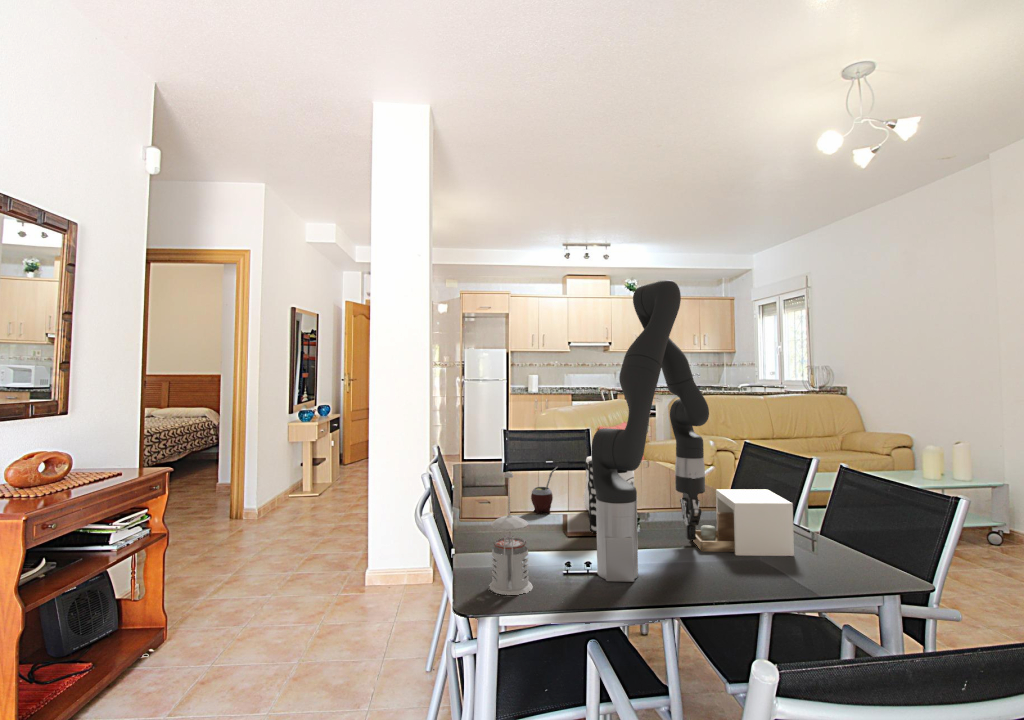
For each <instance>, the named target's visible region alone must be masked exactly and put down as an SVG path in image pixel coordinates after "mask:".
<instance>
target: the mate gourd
mask: <svg viewBox="0 0 1024 720" xmlns="http://www.w3.org/2000/svg"><path fill="white" fill-rule="evenodd" d="M558 468H559V466H555V468H554V469H552V471H550V473H549V475H548V476H549V477H548V479H547V484H546V486H536V487H533V489H532V490H531V495H530V499H531V503H532V505H533V507H534V510H533V513H534V512H535V514H536V515H537V516H539V515H541V514H545V515H546V514H547V515H551V508H552V503H553V499H554V497H553V492H552V489H551V488H549V484H550V480H551V478H552V476H553V473H554V472H555V471H556V469H558Z"/></svg>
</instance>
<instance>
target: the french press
mask: <svg viewBox="0 0 1024 720" xmlns="http://www.w3.org/2000/svg"><path fill="white" fill-rule="evenodd" d="M513 477H514V474H513V472H511V471H506V472H505V473H504V478H505V479H507V480H508V515H504V516H500V517H498V518H496V519H495V520H493V521H492V522H491V523H490V525H491V527H492V529H494V530H498V531H501V532H502V531H503V532H504V531H505V532H508V533H509V535H508V536H509V537H508V536H506V535H504V537H500V538H497V539H495V540H494V541H493V542H492V543H493V545H494V546H493V547H492V549H491V556H492V557H491V561H492V564H491V568H492V570H491V572H492V575H491V576H492V577H491V580H492V581H491V582H490V584H489V585H488V586H490V589H491V590H493V591H494V592H496V593H499V594H505V595H506V594H507V595H519V594H523V593H526V594H528V593H529V591H530V592H531V591H533V588H534V586H533V584H532V582H530V581H529V575H528V574H529V569H528V568H529V563H528V562H529V557H527V556H529V549H528V547H527V546H526V544H527V541H526V540H525V539H524V538H520V537H516V536H515V537H514V535H511V532H512V531H513V532H515V531H519V530H522V529H524V528H526V527H527V526H528V525H529V522H528V521H527V520H525V519H523V518H521V517H519V516H516V515H511V502H510V501H511V500H510V498H511V497H510V496H511V494H510V489H511V486H510V483H511V482H510V479H512V478H513ZM523 595H524V594H523ZM519 596H520V595H519Z"/></svg>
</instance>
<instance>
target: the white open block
mask: <svg viewBox="0 0 1024 720" xmlns="http://www.w3.org/2000/svg"><path fill="white" fill-rule="evenodd" d="M715 498H716V499H715V501H716V502H715V504H716V508H715V510H716V514H717V512H732V513H734V539H735V552H734V555H735V556H752V557H753V556H755V557H757V556H758V557H759V556H763V557H764V556H765V557H767V556H770V557H771V556H772V557H776V556H777V557H789V556H790V557H794V556H795V550H794V549H795V547H794V546H795V545H794V543H795V541H794V539H795V538H794V507H793V505H794V504H793V502H792V501H791V502H790V501H789V500H787V499H786V498H784V497H782V496H780V495H778V494H776V493H775V492H773V491H771V490H769V489H768V488H767V489H764V488H763V489H761V488H760V489H758V488H757V489H755V488H754V489H752V488H751V489H750V488H749V489H745V488H743V489H742V488H741V489H731V488H729V489H728V488H727V489H726V488H725V489H724V488H723V489H718V488H717V489H715Z"/></svg>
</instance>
